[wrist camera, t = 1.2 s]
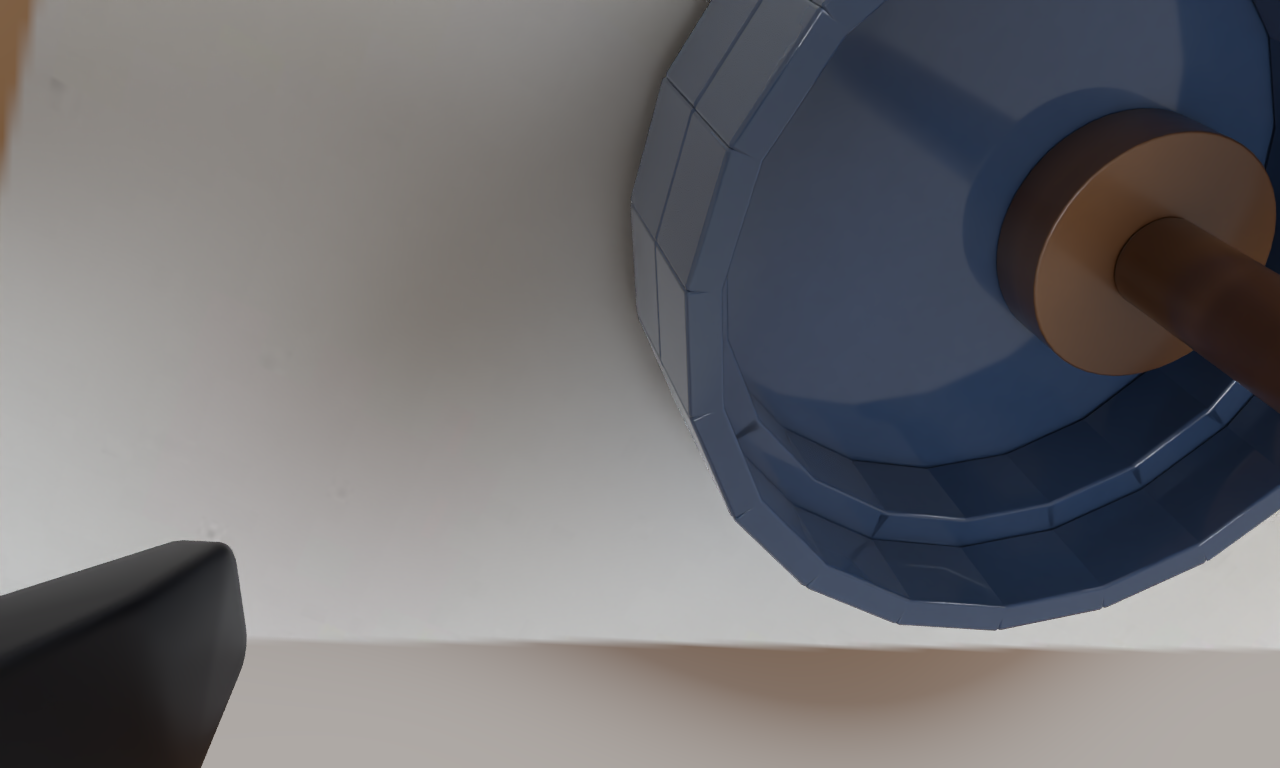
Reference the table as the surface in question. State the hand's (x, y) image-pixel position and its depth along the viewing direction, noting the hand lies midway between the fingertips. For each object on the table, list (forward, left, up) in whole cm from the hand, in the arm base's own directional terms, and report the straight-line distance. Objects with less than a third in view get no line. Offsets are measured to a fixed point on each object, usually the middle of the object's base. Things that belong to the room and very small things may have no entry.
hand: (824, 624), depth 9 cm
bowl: (+9, 0, -13) cm, 16 cm away
